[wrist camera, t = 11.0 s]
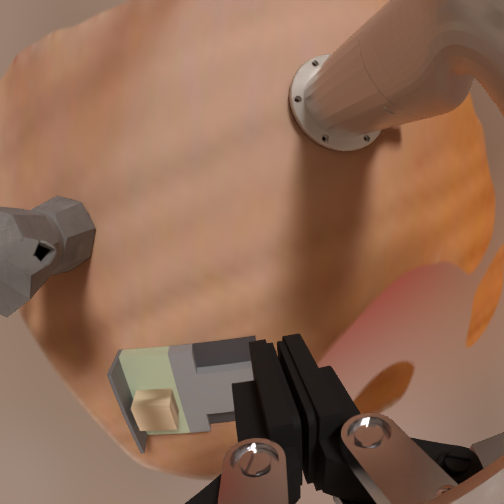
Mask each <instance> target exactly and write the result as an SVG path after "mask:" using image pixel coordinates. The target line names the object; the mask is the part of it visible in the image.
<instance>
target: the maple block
mask: <svg viewBox="0 0 504 504" xmlns="http://www.w3.org/2000/svg"><path fill="white" fill-rule="evenodd" d="M131 411H132V413H133V416H134V418H135V420H136V423H137V425H138V427H139V430H140V431H159V430H177V425H178V414H179V409H178V406H177V403H176V400H175V396H174V393H173V390H172V388H167V389H151V390H136V392H135V396H134V399H133V402H132V406H131Z"/></svg>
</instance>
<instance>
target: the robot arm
mask: <svg viewBox="0 0 504 504" xmlns="http://www.w3.org/2000/svg"><path fill="white" fill-rule="evenodd" d="M312 64H313V65H314V66H313V65H312ZM474 78H476V79H477V80H478V81H479V82H480V83H481V85H482V86H483V87H484V89H485V90H486V91H487V93H488V94H489V96H490V97H491V99H492V100H493V101H494V103H496V105H497V107H498V108H499V110H500V111H501V113H502V115H503V116H504V0H390V1H388V2H387V3H386V4H385V5H384V6H383V7H382V8H381V9H380V10H379V11H378V12H377V13H376V14H375V15H373V16H372V17H371V18H370V19H369V20H368V21H367V22H366V23H365V24H364V25H363V26H362V27H360V28H359V29H358V30H357V31H356V32H355V33H354V34H353V35H352V36H351V37H350V38H349V39H347V40H346V41H345V42H344V43H343V44H342V45H341V46H340V47H339V48H338V49H337V50H336V51H335V52H334V53H333V54H325V55H320V56H316V57H314V58H312V59H310V60H308V61H307V62H305V63H304V64H303V65H302V66H301V67H300V68H299V69H298V70H297V72H296V74H295V75H294V77H293V79H292V82H291V85H290V91H289V100H290V106H291V110H292V114H293V116H294V118H295V120H296V122H297V123H298V125H299V126H300V128H301V129H302V131H303V132H304V133H305V134H306V135H307V136H308V137H309V138H311V139H312V140H313V141H315V142H316V143H317V144H319V145H321V146H323V147H325V148H328V149H332V150H335V151H354V150H357V149H361V148H363V147H365V146H367V145H369V144H370V143H372V142H373V141H374V140H375V139H376V138H377V137H378V135H379V134H380V132H381V130H382V129H386V128H390V127H394V126H398V125H401V124H405V123H410V122H414V121H418V120H422V119H426V118H431V117H434V116H438V115H442V114H445V113H448V112H450V111H452V110H454V109H456V108H457V107H458V106H459V105H460V104H461V103H462V102H463V101H464V100H465V98H466V97H467V95H468V93H469V91H470V89H471V87H472V84H473V81H474ZM295 99H296V100H298V103H297V102H295ZM322 137H323V138H324V139H325V140H324V141H323V140H322ZM364 138H365V140H364ZM249 350H250V357H251V364H252V371H253V379H254V380H252V381H245V382H238V383H232V384H231V385H232V394H233V403H234V412H235V420H236V429H237V437H238V443H236V444H235V445H233V446H232V447H230V449H229V450H228V451H227V452H226V454H225V457H224V460H223V467H222V474H221V475H219V476H218V477H217V478H216V479H215V480H214V481H212V482H211V483H210V484H209V485H208V486H206V487H205V488H204V489H203V490H201V491H200V492H199V493H198V494H197V495H195V496H194V497H193V498H191V499H190V500H189V501H188V502H186V503H185V504H295V503H296V502H297V501H298V500H299V499H300V485H302V470H303V473H304V476H305V479H306V481H307V483H308V484H309V483H314V486H315V489H316V491H318V490H322V491H323V492H324V493H326V494H329V495H332V496H333V499H334V502H335V503H336V504H504V432H503V433H501V434H498V435H495V436H493V437H490V438H488V439H485V440H483V441H480V442H477V443H474V444H472V446H471V448H466V447H462V446H456V445H449V444H442V443H437V442H431V441H425V440H420V439H415V438H410V437H409V436H408V435H407V434H406V433H405V432H404V431H403V430H402V429H401V428H400V427H399V426H398V425H396V423H395V422H394V421H393V420H391V419H390V418H388V417H387V416H384V415H381V414H377V413H363V414H360V412H359V410H358V409H357V407H356V406H355V404H354V402H353V401H352V399H351V398H350V396H349V394H348V393H347V391H346V389H345V388H344V386H343V384H342V383H341V381H340V380H339V378H338V376H337V375H336V373H335V371H334V370H333V368H332V367H331V366H326V367H322V368H318V366H317V364H316V362H315V360H314V359H313V357H312V355H311V353H310V351H309V350H308V348H307V346H306V344H305V342H304V340H303V339H302V337H301V335H300V334H294V335H288V336H283V338H282V341H278V342H277V350H278V356H277V354H276V351H275V348H274V345H273V343H266V340H265V339H264V340H258V341H251V342H249Z"/></svg>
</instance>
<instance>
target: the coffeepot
mask: <svg viewBox="0 0 504 504" xmlns="http://www.w3.org/2000/svg"><path fill="white" fill-rule="evenodd" d="M94 233H95V226H94V224H93V222H92V220H91V218H90V216H89V214H88V212H87V211H86V209H85V208H84V206H83V204H82V202H79V201H75V200H72V199H68V198H64V197H60V196H56V197H54V198H52V199H50V200H48V201H46V202H44V203H43V204H41V205H39V206H37V207H35V208H34V209H32V210H31V211H29V210H25V209H18V208H8V207H0V314H1V315H3V316H5V317H8V316H9V315H11V314H12V313H13V312H15V311H16V310H17V309H19V308H20V307H21V306H22V305H24V304H25V303H26V302H27V301H29V300H30V299H31V298H32V297H33V295H34V294H35V293H36V292H37V291H38V290H39V288H40V287H41V286H42V285H43V284H44V283H45V282H46V280H47V279H48V278H49V277H50V276H51V275H55V274H59V273H64V272H68V271H71V270H72V269H74V268H75V267H76V266H78V265H79V264H81V263H82V262H84V261H85V260H86V259H88V258H89V257H90V256H91V250H92V246H93V242H94Z"/></svg>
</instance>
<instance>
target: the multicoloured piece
mask: <svg viewBox="0 0 504 504" xmlns="http://www.w3.org/2000/svg"><path fill="white" fill-rule="evenodd" d="M251 341H256V338H255V336H250V337H243V338H236V339H228V340H221V341H212V342H204V343H195V344H186V345H176V346H165V347H153V348H141V349H126V350H119V351H118V353H117V355H116V357H115V359H114V361H113V363H112V365H111V367H110V369H109V372H108V374H107V376H108V379H109V381H110V384H111V387H112V389H113V392H114V394H115V397H116V399H117V402H118V404H119V406H120V409H121V411H122V414H123V416H124V418H125V420H126V423H127V425H128V427H129V429H130V431H131V434H132V436H133V438H134V440H135V442H136V444H137V446H138V448H139V450H140V452H141V453H144V452H145V447H146V441H147V436H148V435H154V434H179V433H194V432H206V431H211V426H210V423H219V422H228V421H236V420H235V412H234V403H233V394H232V385H231V384H232V383H238V382H245V381H252V380H254V379H253V371H252V364H251V357H250V350H249V342H251ZM167 388H172V390H173V393H174V396H175V400H176V403H177V406H178V409H179V414H178V425H177V430H159V431H140V430H139V427H138V425H137V423H136V420H135V418H134V416H133V413H132V411H131V406H132V402H133V399H134V396H135V392H136V390H151V389H167Z"/></svg>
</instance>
